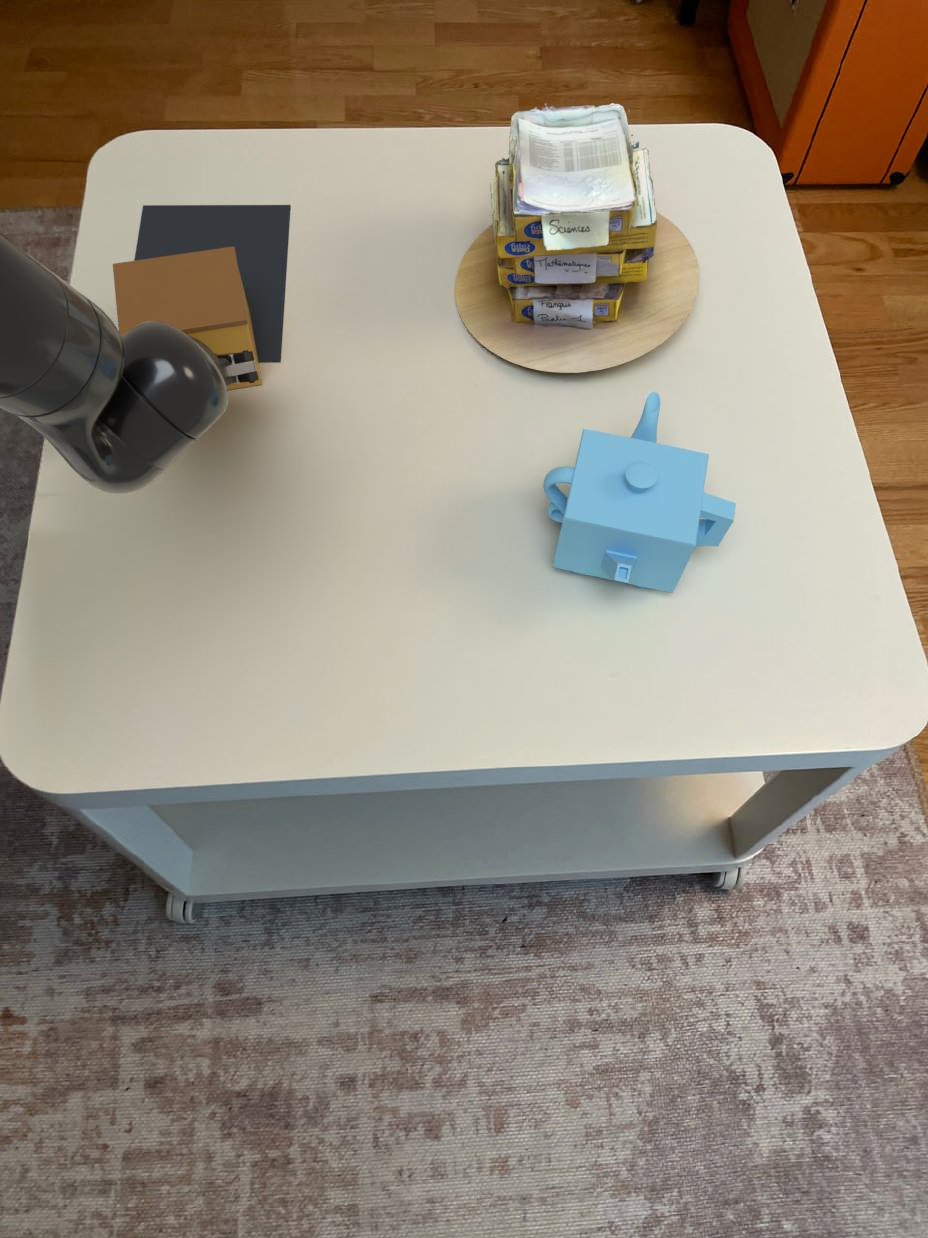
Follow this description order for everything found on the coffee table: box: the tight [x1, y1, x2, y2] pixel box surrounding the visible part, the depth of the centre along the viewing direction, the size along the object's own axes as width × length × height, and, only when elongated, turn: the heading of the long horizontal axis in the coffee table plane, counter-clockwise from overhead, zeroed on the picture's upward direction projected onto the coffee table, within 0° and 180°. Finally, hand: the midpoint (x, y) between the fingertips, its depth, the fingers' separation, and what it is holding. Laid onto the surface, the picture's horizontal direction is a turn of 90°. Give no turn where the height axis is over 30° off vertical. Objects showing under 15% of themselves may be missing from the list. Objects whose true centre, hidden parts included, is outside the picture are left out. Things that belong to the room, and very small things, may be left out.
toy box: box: [112, 246, 263, 391], centre depth 89 cm, size 9×11×9 cm
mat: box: [133, 204, 292, 364], centre depth 98 cm, size 16×22×1 cm
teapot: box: [543, 391, 737, 594], centre depth 81 cm, size 16×18×11 cm
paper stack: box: [454, 102, 701, 374], centre depth 91 cm, size 25×25×17 cm
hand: (192, 370), depth 87 cm, fingers closed
